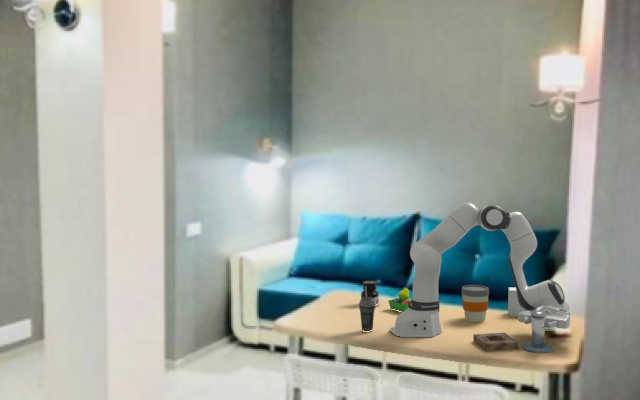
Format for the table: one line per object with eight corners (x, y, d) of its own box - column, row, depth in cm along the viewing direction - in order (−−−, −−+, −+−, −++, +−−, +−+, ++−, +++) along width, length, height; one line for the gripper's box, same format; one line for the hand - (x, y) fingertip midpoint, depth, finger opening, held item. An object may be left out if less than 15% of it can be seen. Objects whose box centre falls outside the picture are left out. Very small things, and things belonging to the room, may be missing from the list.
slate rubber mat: (530, 353, 278) (530, 351, 278) (517, 344, 290) (517, 342, 290) (558, 351, 279) (558, 350, 279) (544, 343, 291) (544, 341, 291)
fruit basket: (387, 310, 347) (387, 288, 346) (399, 307, 353) (399, 285, 352) (405, 315, 339) (405, 291, 338) (416, 311, 345) (416, 288, 344)
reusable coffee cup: (479, 315, 336) (479, 284, 335) (494, 321, 325) (494, 289, 323) (456, 317, 333) (456, 286, 331) (470, 324, 321) (470, 291, 319)
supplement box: (525, 317, 331) (525, 290, 330) (508, 316, 333) (509, 290, 332) (523, 313, 338) (524, 287, 337) (507, 312, 340) (508, 286, 339)
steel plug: (534, 348, 281) (534, 314, 280) (527, 344, 287) (528, 310, 286) (548, 348, 282) (548, 313, 281) (541, 343, 288) (542, 309, 287)
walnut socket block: (485, 351, 282) (485, 344, 281) (473, 341, 295) (473, 334, 295) (518, 349, 284) (518, 342, 283) (504, 339, 297) (504, 332, 297)
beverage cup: (363, 334, 307) (363, 289, 305) (356, 330, 314) (355, 286, 312) (378, 332, 310) (378, 287, 308) (370, 328, 317) (370, 284, 315)
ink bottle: (373, 308, 352) (373, 284, 350) (357, 306, 356) (357, 283, 355) (382, 304, 360) (381, 281, 359) (366, 302, 364) (366, 279, 363)
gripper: (524, 305, 300) (512, 312, 289) (573, 312, 288) (562, 319, 277) (524, 319, 300) (512, 327, 289) (573, 327, 288) (562, 335, 277)
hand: (537, 323), depth 283 cm, fingers open, 8 cm apart
